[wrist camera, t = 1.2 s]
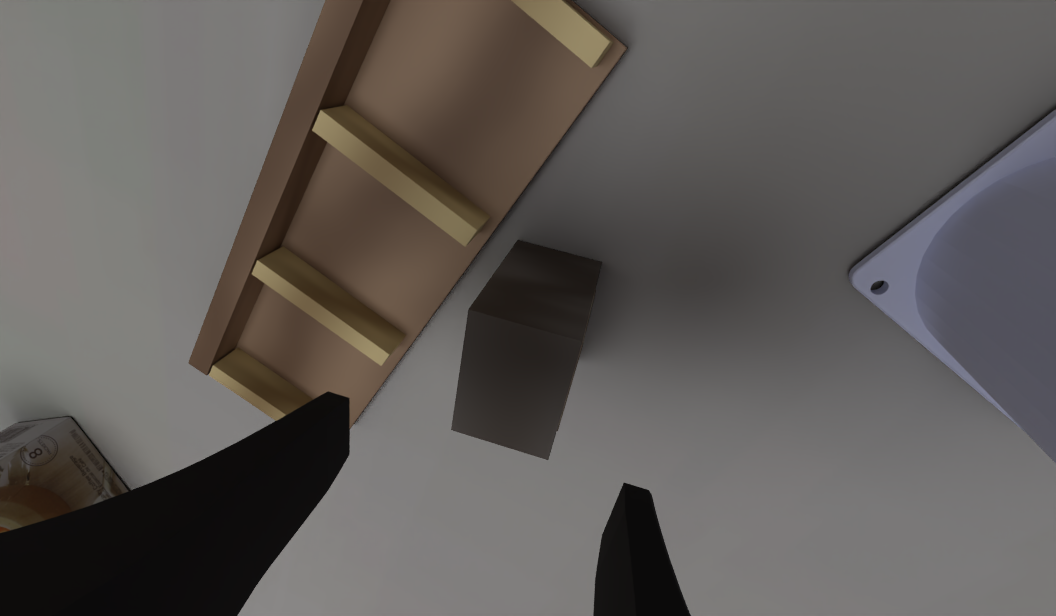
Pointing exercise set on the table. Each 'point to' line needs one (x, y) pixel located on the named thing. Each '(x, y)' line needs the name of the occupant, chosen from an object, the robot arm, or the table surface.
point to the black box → (524, 348)
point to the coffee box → (50, 472)
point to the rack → (390, 185)
